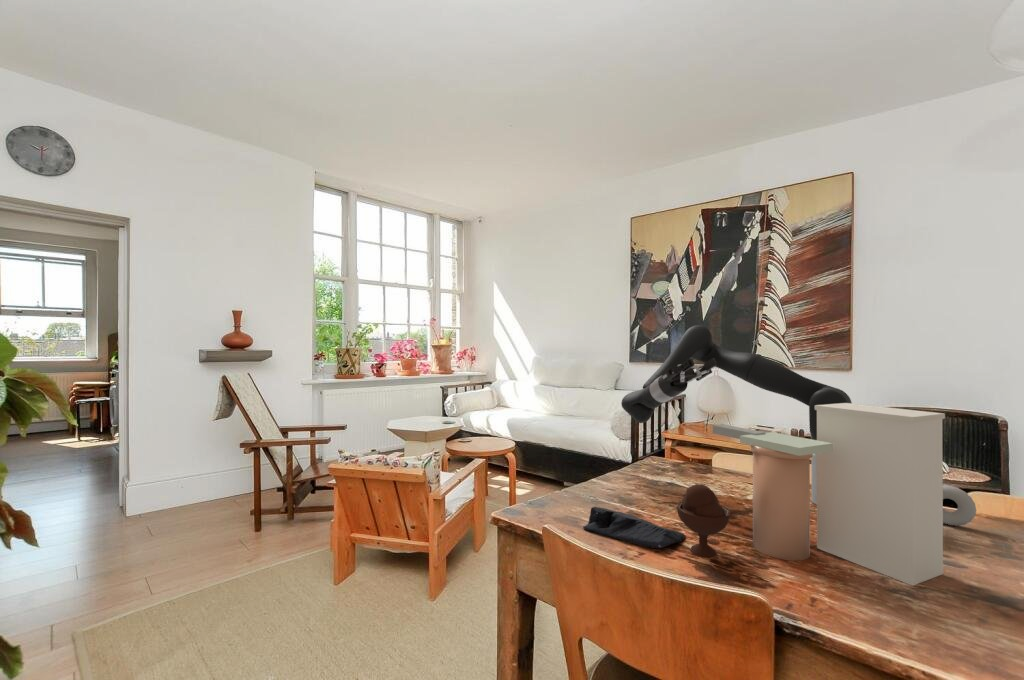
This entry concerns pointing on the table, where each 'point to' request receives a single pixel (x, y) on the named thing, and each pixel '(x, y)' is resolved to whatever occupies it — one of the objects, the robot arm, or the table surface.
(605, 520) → the black flat lumpy piece
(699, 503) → the ice cream bowl
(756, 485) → the terracotta pot
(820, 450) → the cover
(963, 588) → the table surface
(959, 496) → the donut
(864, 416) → the upright grey panel box
